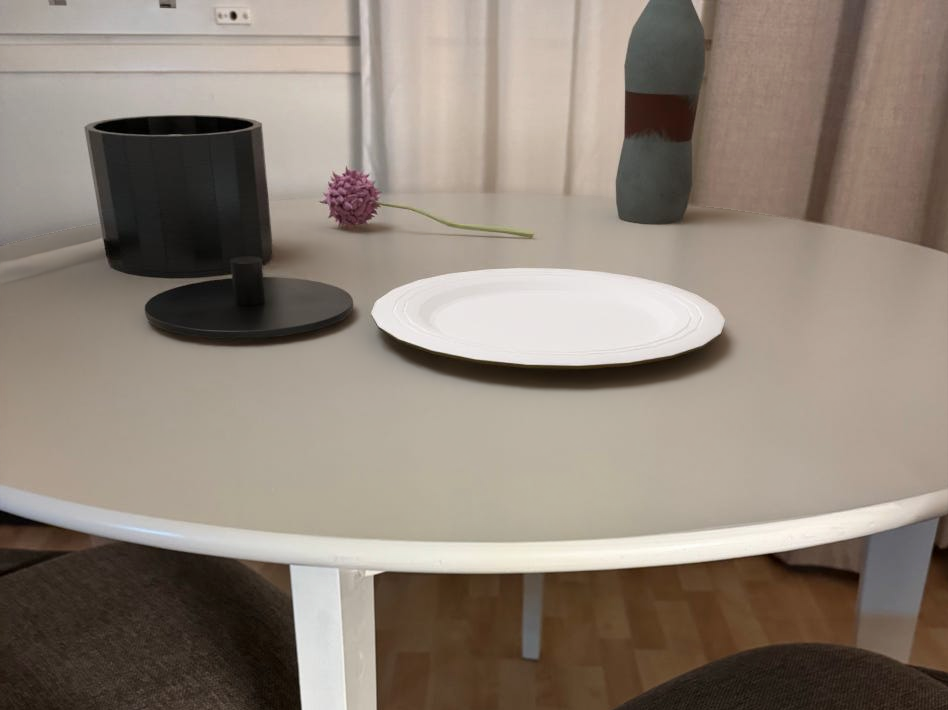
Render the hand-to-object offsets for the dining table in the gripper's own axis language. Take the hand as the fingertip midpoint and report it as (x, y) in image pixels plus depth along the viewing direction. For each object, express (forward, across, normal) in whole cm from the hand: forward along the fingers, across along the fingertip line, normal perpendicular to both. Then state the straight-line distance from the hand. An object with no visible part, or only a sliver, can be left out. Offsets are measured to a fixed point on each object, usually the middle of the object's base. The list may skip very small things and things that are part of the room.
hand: (113, 6), depth 95 cm
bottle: (+22, +60, +11) cm, 65 cm away
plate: (+22, +31, -32) cm, 50 cm away
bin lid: (+22, +8, -21) cm, 31 cm away
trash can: (+22, +4, +2) cm, 23 cm away
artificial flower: (+22, +31, +9) cm, 39 cm away
